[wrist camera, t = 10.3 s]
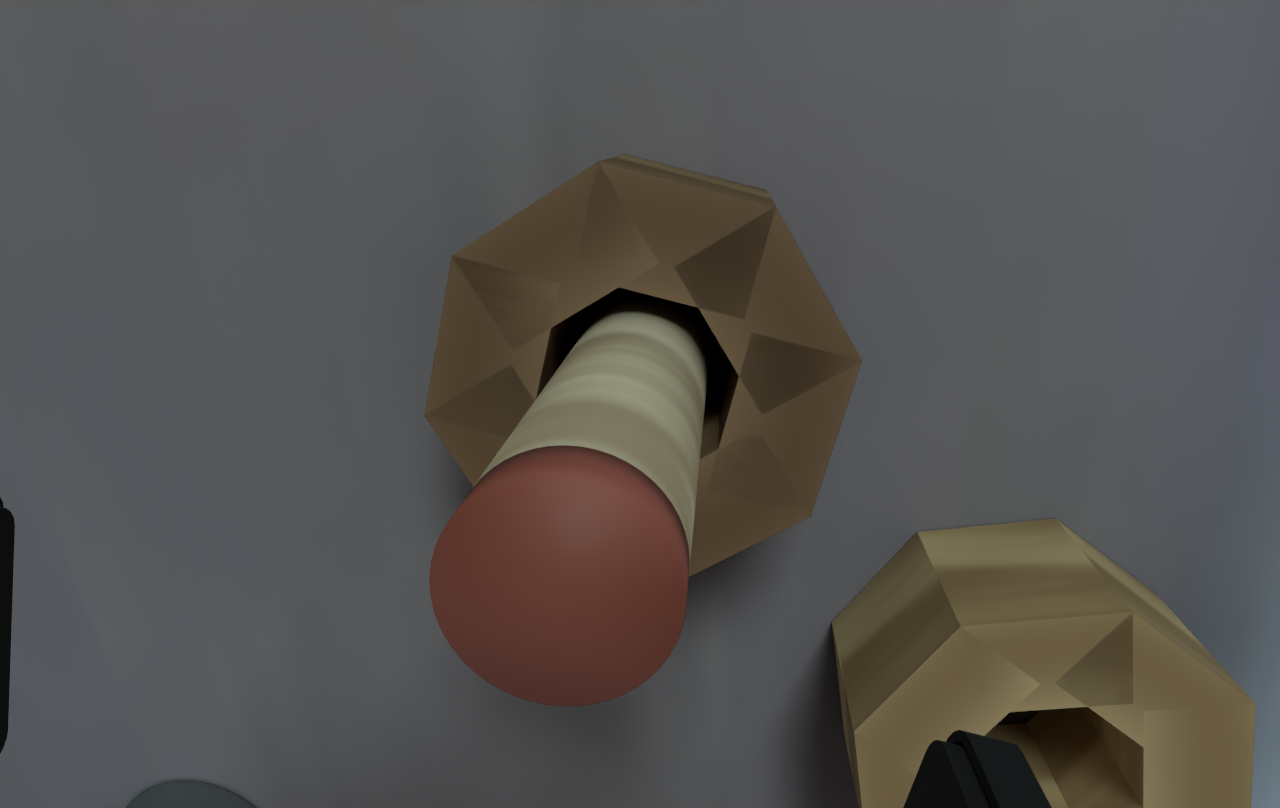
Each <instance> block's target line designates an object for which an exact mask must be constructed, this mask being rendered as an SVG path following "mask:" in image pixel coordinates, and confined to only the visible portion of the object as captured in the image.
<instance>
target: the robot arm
mask: <svg viewBox="0 0 1280 808" xmlns="http://www.w3.org/2000/svg"><path fill="white" fill-rule="evenodd" d="M14 529H15V525H14V517H13V515H12V513H11V512H10V511H9V510H7V509H6V508H3V502H2V500H1V498H0V753H1V751H2V749H3V747H4V744H5V741H6V738H7V732H8V710H9V679H10V649H11V619H12V589H13V559H14ZM903 808H1052V807H1051V805H1050V803H1049V801H1048V800H1047V798H1046V796H1045V794H1044V792H1043V790H1042V788H1041V786H1040V784H1039V782H1038V781H1037V779H1036V777H1035V775H1034V773H1033V771H1032V769H1031V767H1030V765H1029V763H1028V762H1027V760H1026V758H1025V756H1024V754H1023V752H1022V751H1021V750H1020V748H1019V747H1018V746H1017V745H1015V744H1013V743H1010V742H1006V741H1002V740H998V739H994V738H990V737H986V736H982V735H978V734H974V733H970V732H966V731H962V730H957V731H954V732H953V733H952V734H951V735H950V736H949V737H948V739H947V740H946V742H944V741H940V740H935V741H933V742H932V743H931V744H930V745H929V746H928V748H927V750H926V752H925V755H924V757H923V760H922V762H921V765H920V767H919V770H918V772H917V775H916V777H915V780H914V782H913V785H912V787H911V790H910V792H909V795H908V797H907V799H906V802H905V804H904V807H903Z"/></svg>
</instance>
